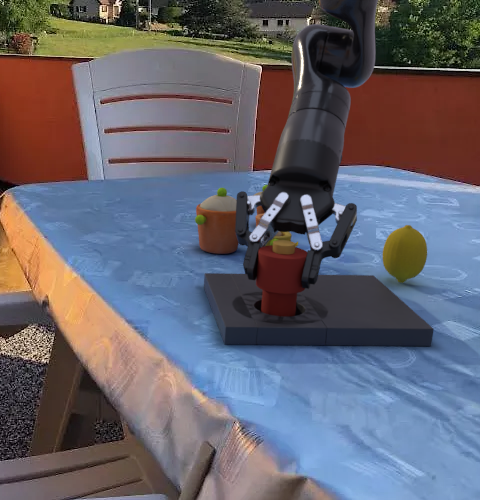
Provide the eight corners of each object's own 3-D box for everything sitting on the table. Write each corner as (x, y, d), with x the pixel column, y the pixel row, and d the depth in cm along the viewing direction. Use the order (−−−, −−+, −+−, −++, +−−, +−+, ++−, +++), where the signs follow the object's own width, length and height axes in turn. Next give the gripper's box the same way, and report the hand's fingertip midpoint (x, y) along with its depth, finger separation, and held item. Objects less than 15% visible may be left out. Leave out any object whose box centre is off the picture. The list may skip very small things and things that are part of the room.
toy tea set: (297, 267, 101) (303, 200, 98) (189, 258, 104) (192, 193, 101) (295, 224, 126) (300, 170, 123) (207, 218, 128) (210, 165, 126)
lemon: (400, 291, 92) (408, 231, 89) (370, 278, 97) (377, 221, 94) (432, 286, 94) (440, 228, 92) (401, 274, 99) (408, 218, 97)
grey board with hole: (371, 289, 92) (373, 275, 92) (431, 346, 75) (434, 328, 74) (203, 287, 91) (204, 273, 91) (224, 344, 74) (225, 326, 74)
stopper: (294, 315, 83) (302, 236, 80) (306, 333, 78) (315, 250, 75) (249, 314, 83) (254, 236, 80) (257, 332, 77) (264, 249, 75)
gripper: (244, 132, 84) (208, 254, 77) (371, 141, 78) (344, 274, 71) (252, 170, 90) (219, 287, 83) (370, 181, 85) (346, 307, 77)
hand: (277, 280), depth 77 cm, fingers closed on stopper, 5 cm apart
